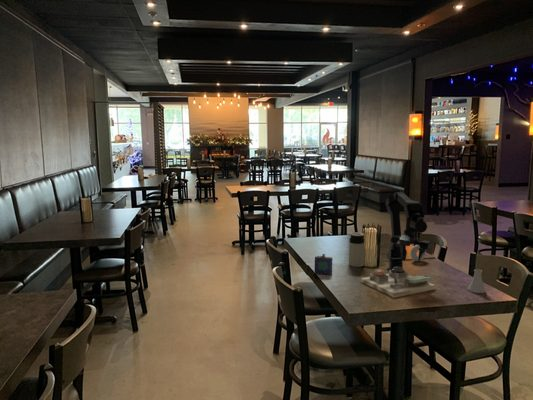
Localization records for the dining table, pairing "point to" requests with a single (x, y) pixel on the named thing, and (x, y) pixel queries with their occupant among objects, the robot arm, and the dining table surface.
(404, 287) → the control panel
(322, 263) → the flask
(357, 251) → the travel mug
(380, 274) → the terracotta button
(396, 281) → the toggle lever
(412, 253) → the donut
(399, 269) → the black button
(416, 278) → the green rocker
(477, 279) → the flask
